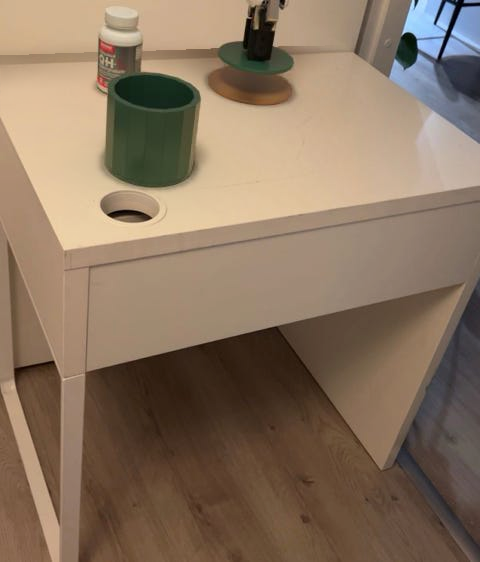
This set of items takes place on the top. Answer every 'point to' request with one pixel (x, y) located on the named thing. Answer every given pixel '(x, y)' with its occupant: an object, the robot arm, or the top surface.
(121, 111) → the tin
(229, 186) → the top surface
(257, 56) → the robot arm
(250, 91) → the cork mat
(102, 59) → the pill bottle
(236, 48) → the tin lid
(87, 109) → the top surface
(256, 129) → the top surface
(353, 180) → the top surface
